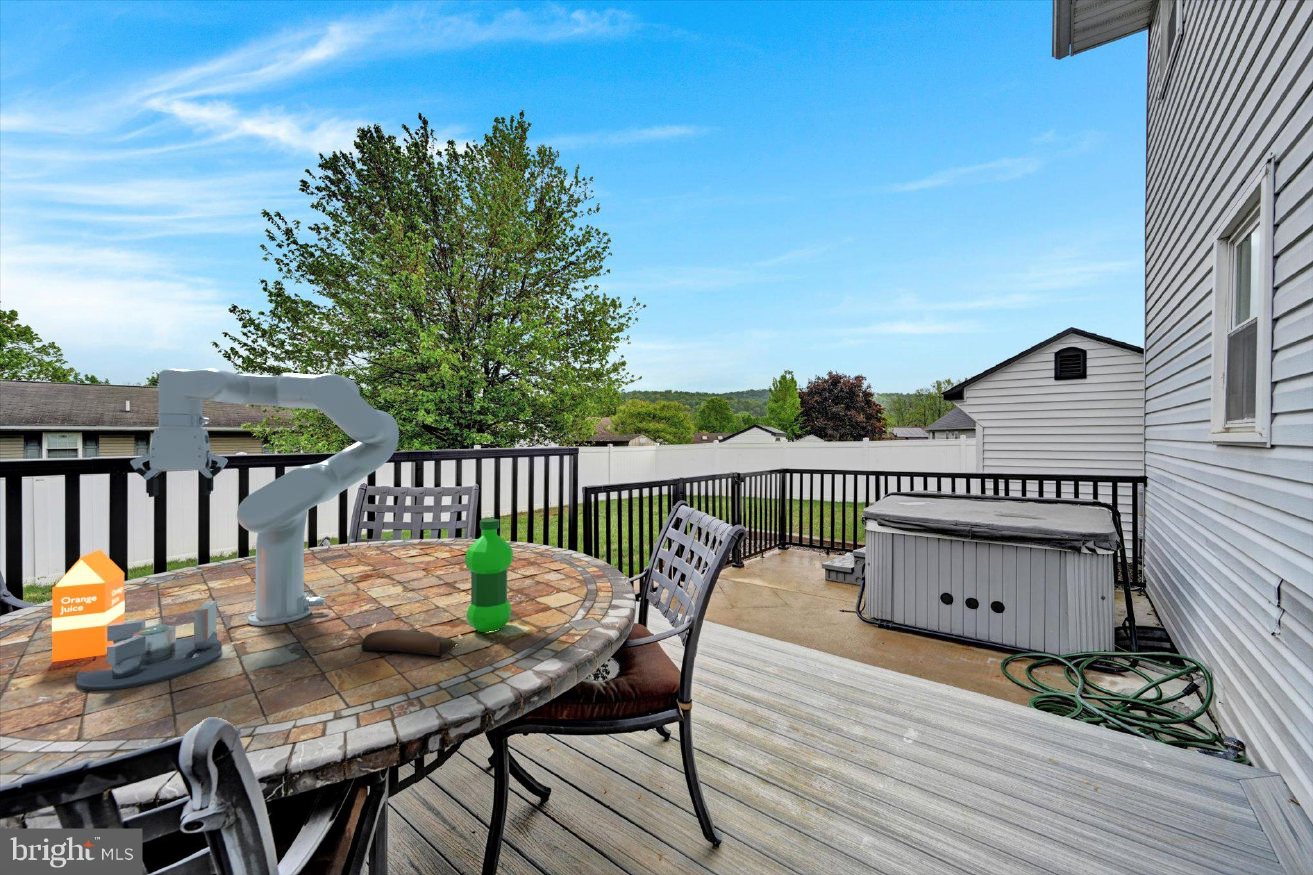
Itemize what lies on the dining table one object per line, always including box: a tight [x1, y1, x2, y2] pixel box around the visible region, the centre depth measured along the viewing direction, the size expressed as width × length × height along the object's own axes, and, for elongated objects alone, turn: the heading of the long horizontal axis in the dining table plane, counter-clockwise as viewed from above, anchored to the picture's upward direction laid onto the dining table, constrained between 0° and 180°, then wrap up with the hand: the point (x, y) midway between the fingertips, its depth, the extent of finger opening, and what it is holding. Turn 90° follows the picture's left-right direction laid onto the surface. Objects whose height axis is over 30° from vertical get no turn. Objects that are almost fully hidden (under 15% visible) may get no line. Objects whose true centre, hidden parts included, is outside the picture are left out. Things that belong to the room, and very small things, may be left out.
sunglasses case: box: [361, 629, 459, 658], centre depth 109 cm, size 18×7×7 cm, turn 80°
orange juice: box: [51, 549, 126, 663], centre depth 107 cm, size 8×9×20 cm
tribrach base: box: [76, 619, 223, 692], centre depth 100 cm, size 20×20×8 cm
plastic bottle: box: [464, 518, 514, 632], centre depth 119 cm, size 10×10×25 cm
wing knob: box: [193, 600, 218, 649], centre depth 106 cm, size 7×4×8 cm, turn 27°
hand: (180, 495), depth 122 cm, fingers open, 9 cm apart
